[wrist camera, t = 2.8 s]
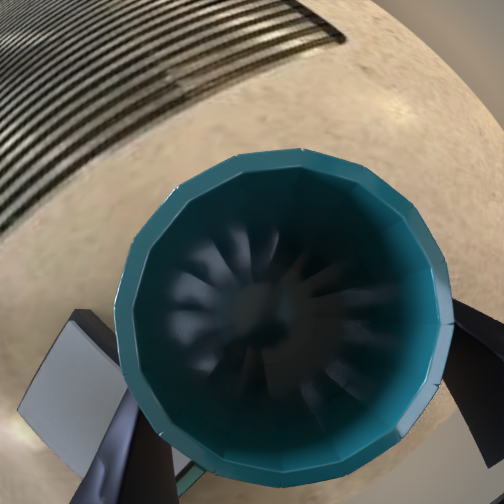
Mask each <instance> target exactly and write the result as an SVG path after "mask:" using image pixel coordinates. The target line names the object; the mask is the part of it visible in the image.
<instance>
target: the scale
mask: <svg viewBox="0 0 504 504" xmlns="http://www.w3.org/2000/svg"><path fill="white" fill-rule="evenodd" d="M127 387H128V386H127V384H126V383H125V381H124V379H123V375H122V373H121V367H120V361H119V354H118V347H117V339H116V335H115V334H114V333H113V332H112V331H111V330H110V329H109V328H108V327H107V326H106V325H105V324H104V323H103V322H102V321H101V320H100V319H99V318H98V317H97V316H96V315H95V314H94V313H93V312H92V311H91V310H88V309H75V310H74V311H73V313H72V314H71V316H70V317H69V319H68V320H67V322H66V324H65V325H64V327H63V328H62V330H61V332H60V333H59V335H58V336H57V338H56V340H55V341H54V343H53V345H52V346H51V348H50V350H49V351H48V353H47V355H46V356H45V358H44V360H43V362H42V363H41V365H40V367H39V369H38V370H37V372H36V374H35V376H34V378H33V380H32V381H31V383H30V385H29V387H28V389H27V391H26V393H25V395H24V396H23V398H22V400H21V402H20V404H19V406H18V408H17V412H18V413H19V414H20V415H21V417H22V418H23V419H24V420H25V421H26V423H27V424H28V425H29V426H30V427H31V428H32V429H33V431H34V432H35V433H36V434H37V435H38V436H39V437H40V438H41V439H42V441H43V442H44V443H45V444H46V445H47V446H48V447H49V448H50V449H51V450H52V451H53V452H54V453H55V454H56V455H57V456H58V457H59V458H60V459H61V460H62V461H63V462H64V463H65V464H66V465H67V466H68V467H69V468H70V469H72V470H73V471H74V472H75V473H76V474H77V475H78V476H79V477H80V478H81V479H83V478H84V477H85V475H86V473H87V471H88V469H89V467H90V465H91V463H92V461H93V459H94V456H95V454H96V452H97V451H98V448H99V446H100V443H101V441H102V439H103V437H104V435H105V433H106V431H107V428H108V426H109V424H110V422H111V420H112V418H113V416H114V414H115V412H116V410H117V408H118V406H119V403H120V401H121V399H122V397H123V395H124V393H125V391H126V389H127ZM172 455H173V464H174V472H175V480H176V487H177V494H178V498H179V497H180V496H181V495H182V494H183V493H184V492H185V491H187V490H188V489H189V488H190V487H191V486H192V485H193V484H194V483H195V482H196V481H197V480H198V479H199V478H200V477H201V476H202V475H203V474H204V473H205V472H206V471H207V470H206V469H204V468H203V467H201V466H200V465H198V464H197V463H195V462H194V461H192V460H191V459H189V458H188V457H187V456H185V455H184V454H182V453H181V452H180V451H178V450H177V449H175V448H174V447H173V446H172Z"/></svg>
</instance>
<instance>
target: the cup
mask: <svg viewBox="0 0 504 504" xmlns="http://www.w3.org/2000/svg"><path fill="white" fill-rule="evenodd" d="M133 241H134V242H132V243H131V246H130V249H129V253H128V256H127V259H126V262H125V266H124V269H123V273H122V276H121V280H120V283H119V287H118V290H117V294H116V298H115V302H114V307H115V308H114V309H113V313H114V322H115V331H116V339H117V347H118V354H119V361H120V367H121V373H122V375H123V379H124V381H125V383H126V384H127V386H128V388H129V390H130V391H131V393H132V395H133V397H134V398H135V400H136V402H137V403H138V405H139V407H140V408H141V410H142V411H143V413H144V415H145V416H146V418H147V419H148V421H149V423H150V424H151V426H152V427H153V429H154V430H155V432H156V433H157V434H159V436H160V437H161V438H162V439H163V440H165V441H166V442H167V443H169V444H170V445H171V446H173V447H174V448H175V449H177V450H178V451H180V452H181V453H182V454H184V455H185V456H187V457H188V458H189V459H191V460H192V461H194V462H195V463H197V464H198V465H200V466H201V467H203V468H204V469H206V470H207V471H209V472H211V473H215V475H217V476H221V477H225V478H229V479H233V480H238V481H242V482H247V483H252V484H257V485H262V486H268V487H274V488H280V487H281V488H287V487H294V486H300V485H305V484H311V483H316V482H321V481H326V480H330V479H335V478H339V477H343V476H345V475H349V474H350V473H352V472H354V471H355V470H357V469H359V468H360V467H362V466H364V465H365V464H367V463H368V462H370V461H372V460H373V459H375V458H376V457H378V456H379V455H381V454H382V453H384V452H385V451H387V450H388V449H390V448H391V447H392V446H394V445H395V444H397V443H398V442H400V441H401V439H403V438H404V437H405V435H406V434H407V433H408V431H409V430H410V429H411V427H412V426H413V425H414V423H415V422H416V421H417V419H418V418H419V417H420V415H421V414H422V412H423V411H424V409H425V408H426V407H427V405H428V404H429V402H430V401H431V399H432V398H433V396H434V395H435V393H436V392H437V390H438V388H439V385H440V384H441V380H442V377H443V373H444V369H445V366H446V362H447V358H448V354H449V349H450V345H451V341H452V336H453V331H454V323H455V319H454V310H453V302H452V294H451V287H450V281H449V274H448V268H447V263H446V262H445V258H444V256H443V254H442V252H441V250H440V248H439V247H438V245H437V243H436V241H435V239H434V238H433V236H432V234H431V232H430V231H429V229H428V227H427V225H426V224H425V222H424V220H423V219H422V217H421V215H420V214H419V212H418V210H417V209H416V208H415V207H414V205H413V204H412V203H411V202H410V201H408V200H407V199H406V198H405V197H403V196H402V195H401V194H400V193H399V192H397V191H396V190H395V189H394V188H392V187H391V186H390V185H389V184H387V183H386V182H385V181H383V180H382V179H381V178H380V177H378V176H377V175H376V174H374V173H373V172H372V171H370V170H369V169H368V168H366V167H363V166H362V165H359V164H356V163H353V162H349V161H346V160H343V159H339V158H336V157H333V156H329V155H326V154H322V153H319V152H315V151H311V150H308V149H301V148H296V149H285V150H274V151H265V152H256V153H247V154H239V155H237V156H233V157H231V158H229V159H227V160H225V161H223V162H221V163H219V164H217V165H215V166H213V167H212V168H210V169H208V170H206V171H204V172H202V173H200V174H199V175H197V176H195V177H193V178H191V179H189V180H188V181H186V182H184V183H182V184H180V185H179V186H178V187H177V188H175V189H174V190H173V191H172V192H171V193H170V195H169V196H168V197H167V198H166V199H165V201H164V202H163V203H162V204H161V205H160V207H159V208H158V209H157V210H156V211H155V213H154V214H153V215H152V216H151V218H150V219H149V220H148V221H147V223H146V224H145V225H144V226H143V228H142V229H141V230H140V231H139V233H138V234H137V235H136V237H135V238H134V240H133Z"/></svg>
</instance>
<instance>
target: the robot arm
mask: <svg viewBox="0 0 504 504" xmlns="http://www.w3.org/2000/svg"><path fill="white" fill-rule="evenodd" d="M452 302H453V310H454V319H455V323H454V331H453V336H452V341H451V345H450V349H449V354H448V358H447V362H446V366H445V369H444V373H443V377H442V379H443V381H444V382H445V384H446V386H447V388H448V389H449V391H450V393H451V395H452V397H453V399H454V400H455V402H456V404H457V406H458V408H459V410H460V412H461V414H462V416H463V417H464V419H465V421H466V423H467V425H468V426H469V430H470V431H471V434H472V436H473V438H474V440H475V442H476V444H477V446H478V448H479V450H480V452H481V454H482V456H483V459H484V461H485V463H486V465H487V467H488V468H491V467H492V466H494V465H495V464H497V463H498V462H500V461H501V460H503V459H504V324H503V323H501V322H499V321H497V320H494V319H493V318H491V317H489V316H487V315H485V314H483V313H482V312H480V311H478V310H476V309H474V308H472V307H470V306H468V305H466V304H464V303H462V302H459V301H457V300H455V299H453V298H452ZM69 504H179V500H178V494H177V487H176V480H175V472H174V464H173V455H172V446H171V445H170V444H169V443H167V442H166V441H165V440H163V439H162V438H161V437H160V436H159V434H157V433H156V432H155V430H154V429H153V427H152V426H151V424H150V423H149V421H148V419H147V418H146V416H145V415H144V413H143V411H142V410H141V408H140V407H139V405H138V403H137V402H136V400H135V398H134V397H133V395H132V393H131V391H130V390H129V388H128V387H127V389H126V391H125V393H124V395H123V397H122V399H121V401H120V403H119V406H118V408H117V410H116V412H115V414H114V416H113V418H112V420H111V422H110V424H109V426H108V428H107V431H106V433H105V435H104V437H103V439H102V441H101V443H100V446H99V448H98V451H97V452H96V454H95V456H94V459H93V461H92V463H91V465H90V467H89V469H88V471H87V473H86V475H85V477H84V478H83V480H82V482H81V484H80V486H79V487H78V489H77V491H76V492H75V494H74V496H73V498H72V499H71V501H70V503H69ZM490 504H504V493H503V494H502V495H500V496H499V497H498V498H497V499H495V500H494V501H493V502H491V503H490Z"/></svg>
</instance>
